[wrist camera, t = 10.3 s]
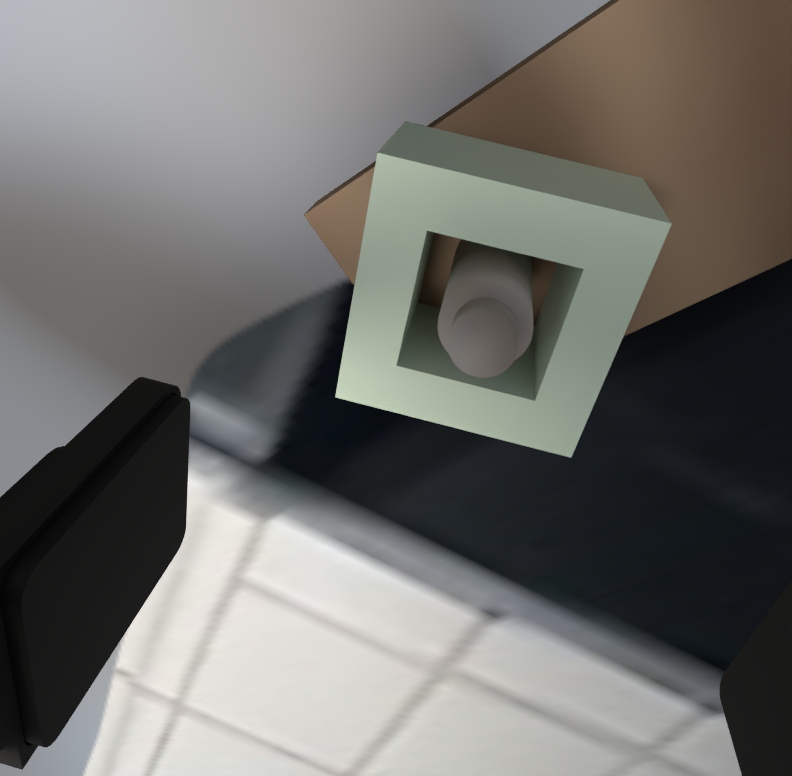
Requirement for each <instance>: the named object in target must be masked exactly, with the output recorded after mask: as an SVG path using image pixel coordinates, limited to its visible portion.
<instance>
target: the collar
mask: <svg viewBox="0 0 792 776" xmlns="http://www.w3.org/2000/svg"><path fill="white" fill-rule="evenodd" d="M671 225H672V223H671V221H670V220H669V218H668V217H667V215H666V214H665V212H664V211H663V209H662V207H661V206H660V204H659V203H658V201H657V200H656V198H655V196H654V195H653V193H652V192H651V190H650V189H649V187H648V185H647V184H646V182H645V181H644V179H643V178H641V177H636V176H632V175H628V174H624V173H620V172H615V171H611V170H607V169H603V168H599V167H594V166H590V165H586V164H582V163H578V162H574V161H569V160H565V159H561V158H557V157H553V156H548V155H544V154H540V153H536V152H532V151H527V150H523V149H519V148H515V147H511V146H507V145H502V144H498V143H494V142H490V141H486V140H481V139H477V138H473V137H469V136H465V135H460V134H456V133H452V132H448V131H444V130H440V129H435V128H431V127H427V126H423V125H418V124H414V123H410V122H405V123H404V124H403V125H402V126H401V127H400V128H399V129H398V130H397V131H396V133H395V134H394V135H393V136H392V137H391V138H390V139H389V140H388V141H387V142H386V144H385V145H384V146H383V147H382V148H381V149H380V150H379V151H378V153H377V158H376V163H375V169H374V175H373V181H372V187H371V192H370V198H369V204H368V210H367V216H366V222H365V227H364V233H363V239H362V245H361V251H360V257H359V262H358V268H357V274H356V280H355V286H354V292H353V297H352V303H351V309H350V315H349V321H348V327H347V332H346V338H345V344H344V350H343V356H342V362H341V367H340V373H339V379H338V385H337V391H336V396H335V397H336V398H340V399H344V400H348V401H352V402H356V403H360V404H364V405H368V406H371V407H375V408H379V409H383V410H387V411H391V412H395V413H399V414H403V415H407V416H410V417H414V418H418V419H422V420H426V421H430V422H434V423H438V424H442V425H446V426H449V427H453V428H457V429H461V430H465V431H469V432H473V433H477V434H481V435H485V436H488V437H492V438H496V439H500V440H504V441H508V442H512V443H516V444H520V445H524V446H527V447H531V448H535V449H539V450H543V451H547V452H551V453H555V454H559V455H563V456H566V457H570V458H571V457H572V455H573V452H574V450H575V448H576V445H577V443H578V441H579V438H580V436H581V434H582V431H583V429H584V427H585V424H586V422H587V420H588V417H589V415H590V413H591V410H592V408H593V406H594V404H595V401H596V399H597V397H598V394H599V392H600V390H601V387H602V385H603V383H604V380H605V378H606V376H607V373H608V371H609V369H610V366H611V364H612V362H613V359H614V357H615V355H616V352H617V350H618V348H619V345H620V343H621V341H622V338H623V336H624V334H625V332H626V329H627V327H628V325H629V322H630V320H631V318H632V315H633V313H634V311H635V308H636V306H637V304H638V301H639V299H640V297H641V294H642V292H643V290H644V287H645V285H646V283H647V280H648V278H649V276H650V273H651V271H652V269H653V266H654V264H655V262H656V259H657V257H658V255H659V253H660V250H661V248H662V246H663V243H664V241H665V239H666V236H667V234H668V232H669V229H670V227H671ZM434 232H435V233H439V234H443V235H447V236H451V237H455V238H459V239H463V240H467V241H471V242H476V243H480V244H484V245H488V246H492V247H496V248H500V249H504V250H508V251H512V252H516V253H520V254H525V255H529V256H533V257H537V258H541V259H545V260H549V261H553V262H557V264H556V266H555V269H554V272H553V275H552V278H551V281H550V284H549V287H548V290H547V293H546V295H545V298H544V301H543V304H542V307H541V310H540V313H539V316H538V319H537V322H536V325H535V327H534V330H533V335H532V339H531V342H530V344H529V346H528V348H527V349H526V351H525V352H524V353H523V354H522V355H521V356H520V357H519V358H518V359H517V360H515V361H514V362H513V364H512V365H511V366H510V367H509V368H508V369H507V370H506V371H504V372H503V373H501V374H499V375H496V376H493V377H488V378H480V377H474V376H471V375H468V374H466V373H464V372H463V371H461V370H460V369H459V368H458V367H457V366H456V365H455V364H454V363H453V361H452V359H451V357H450V355H449V354H448V353H447V351H446V350H445V349H444V347H443V345H442V343H441V341H440V338H439V335H438V317H439V313H440V309H441V308H437V307H433V306H429V305H425V304H421V303H418V299H419V295H420V291H421V287H422V282H423V278H424V274H425V269H426V265H427V261H428V256H429V252H430V248H431V243H432V239H433V235H434Z"/></svg>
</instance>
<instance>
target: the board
mask: <svg viewBox="0 0 792 776" xmlns="http://www.w3.org/2000/svg"><path fill="white" fill-rule="evenodd" d="M427 127H431V128H435V129H440V130H444V131H448V132H452V133H456V134H460V135H465V136H469V137H473V138H477V139H481V140H486V141H490V142H494V143H498V144H502V145H507V146H511V147H515V148H519V149H523V150H527V151H532V152H536V153H540V154H544V155H548V156H553V157H557V158H561V159H565V160H569V161H574V162H578V163H582V164H586V165H590V166H594V167H599V168H603V169H607V170H611V171H615V172H620V173H624V174H628V175H632V176H636V177H641V178H643V179H644V181H645V182H646V184H647V185H648V187H649V189H650V190H651V192H652V193H653V195H654V196H655V198H656V200H657V201H658V203H659V204H660V206H661V207H662V209H663V211H664V212H665V214H666V215H667V217H668V218H669V220H670V221H671V223H672V225H671V227H670V229H669V232H668V234H667V236H666V239H665V241H664V243H663V246H662V248H661V250H660V253H659V255H658V257H657V259H656V262H655V264H654V266H653V269H652V271H651V273H650V276H649V278H648V280H647V283H646V285H645V287H644V290H643V292H642V294H641V297H640V299H639V301H638V304H637V306H636V308H635V311H634V313H633V315H632V318H631V320H630V322H629V325H628V327H627V329H626V332H625V334H624V336H626V335H628V334H630V333H632V332H634V331H636V330H639V329H641V328H643V327H645V326H647V325H649V324H652V323H654V322H656V321H658V320H660V319H662V318H665V317H667V316H669V315H671V314H673V313H675V312H678V311H680V310H682V309H684V308H686V307H688V306H691V305H693V304H695V303H697V302H699V301H701V300H703V299H706V298H708V297H710V296H712V295H714V294H716V293H719V292H721V291H723V290H725V289H727V288H729V287H732V286H734V285H736V284H738V283H740V282H742V281H745V280H747V279H749V278H751V277H753V276H755V275H758V274H760V273H762V272H764V271H766V270H768V269H771V268H773V267H775V266H777V265H779V264H781V263H783V262H786V261H788V260H790V259H792V0H611V1H609V2H608V3H606V4H605V5H604V6H602V7H600V8H599V9H597V10H596V11H595V12H593V13H592V14H590V15H589V16H587V17H586V18H585V19H583V20H581V21H580V22H578V23H577V24H576V25H574V26H573V27H571V28H570V29H568V30H567V31H565V32H564V33H562V34H561V35H559V36H558V37H556V38H555V39H554V40H552V41H551V42H549V43H548V44H546V45H545V46H544V47H542V48H540V49H539V50H537V51H536V52H535V53H533V54H532V55H530V56H529V57H527V58H526V59H525V60H523V61H521V62H520V63H518V64H517V65H516V66H514V67H513V68H511V69H510V70H508V71H507V72H505V73H504V74H502V75H501V76H499V77H498V78H496V79H495V80H494V81H492V82H491V83H489V84H488V85H486V86H485V87H483V88H482V89H481V90H479V91H477V92H476V93H475V94H473V95H472V96H470V97H469V98H467V99H466V100H464V101H463V102H461V103H460V104H459V105H457V106H456V107H454V108H453V109H451V110H450V111H448V112H447V113H445V114H444V115H443V116H441V117H439V118H438V119H437V120H435V121H434V122H432V123H431V124H430V125H428V126H427ZM375 163H376V161H375V162H374V163H372V164H371V165H369V166H368V167H366V168H365V169H363V170H362V171H361V172H359V173H358V174H356V175H355V176H353V177H352V178H350V179H349V180H347V181H346V182H344V183H343V184H342V185H340V186H339V187H337V188H336V189H334V190H333V191H331V192H330V193H328V194H327V195H325V196H324V197H323V198H321V199H320V200H318V201H317V202H316V203H315V204H314V205H313V206H312V207H311V208H310V209H309V210H308V211H307V212H306V213H305V214H304V216H305V217H306V219H307V220H308V221H309V223H310V224H311V226H312V227H313V229H314V230H315V231H316V232H317V234H318V236H319V237H320V238H321V240H322V241H323V243H324V244H325V245H326V247H327V248H328V250H329V251H330V252H331V254H332V255H333V257H334V258H335V259H336V261H337V262H338V264H339V265H340V267H341V268H342V269H343V271H344V272H345V274H346V275H347V276H348V278H349V279H350V281H351V282H352V283H353V285H354V286H355V280H356V274H357V268H358V262H359V257H360V251H361V245H362V239H363V233H364V227H365V222H366V216H367V210H368V204H369V198H370V192H371V187H372V181H373V175H374V169H375ZM556 264H557V262H553V261H549V260H545V259H541V258H537V257H533V256H529V255H525V254H520V253H516V252H512V251H508V250H504V249H500V248H496V247H492V246H488V245H484V244H480V243H476V242H471V241H467V240H463V239H459V238H455V237H451V236H447V235H443V234H439V233H435V232H434V235H433V239H432V243H431V248H430V252H429V256H428V261H427V265H426V269H425V274H424V278H423V282H422V287H421V291H420V295H419V299H418V303H421V304H425V305H429V306H433V307H437V308H441V309H440V313H439V317H438V335H439V338H440V341H441V343H442V345H443V347H444V349H445V350H446V351H447V353H448V354H449V355H450V357H451V359H452V361H453V363H454V364H455V365H456V366H457V367H458V368H459V369H460V370H461V371H463V372H464V373H466V374H468V375H471V376H474V377H480V378H488V377H493V376H496V375H499V374H501V373H503V372H504V371H506V370H507V369H508V368H509V367H510V366H511V365H512V364H513V362H514V361H515V360H517V359H518V358H519V357H520V356H521V355H522V354H523V353H524V352H525V351H526V349H527V348H528V346H529V344H530V342H531V339H532V335H533V330H534V327H535V325H536V322H537V319H538V316H539V313H540V310H541V307H542V304H543V301H544V298H545V295H546V293H547V290H548V287H549V284H550V281H551V278H552V275H553V272H554V269H555V266H556Z"/></svg>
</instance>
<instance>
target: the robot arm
mask: <svg viewBox="0 0 792 776" xmlns="http://www.w3.org/2000/svg"><path fill="white" fill-rule="evenodd" d="M189 428H190V402H189V400H188V399H187V398H183V397H181V392H180V390H179V388H178V387H177V386H174V385H171V384H167V383H163V382H160V381H155V380H152V379H148V378H144V377H140V378H138V379H136V380H135V381H134V382H132V383H131V384H130V385H129V386H128V387H127V388H126V389H125V390H124V391H123V392H122V393H121V394H120V395H119V396H118V397H117V398H116V399H114V401H112V402H111V403H110V404H109V405H108V406H107V407H106V408H105V409H104V410H103V411H102V412H101V413H100V414H99V415H98V416H96V417H95V418H94V419H93V420H92V421H91V422H90V423H89V424H88V425H87V426H86V427H85V428H84V429H83V430H82V431H81V432H79V433H78V434H77V435H76V436H75V437H74V438H73V439H72V440H71V441H70V442H69V443H68V444H67V445H66V446H62V447H58V448H55V449H54V450H53V451H51V452H50V453H48V454H47V455H46V456H45V457H44V458H43V459H41V460H40V461H39V462H38V463H37V464H36V465H35V466H34V467H33V468H32V469H31V470H30V471H29V472H27V473H26V474H25V475H24V476H23V477H22V478H21V479H20V480H19V481H18V482H17V483H16V484H14V485H13V486H12V487H11V488H10V489H9V490H8V491H7V492H6V493H5V494H4V495H2V496H1V497H0V763H2V764H5V765H9V766H12V767H15V768H19V769H23V768H24V766H25V765H26V763H27V762H28V760H29V759H30V757H31V756H32V754H33V753H34V751H35V750H36V748H37V747H38V745H39V746H42V747H48V746H50V745H51V744H52V743H53V742H54V741H55V740H56V739H57V737H58V736H59V734H60V733H61V731H62V730H63V728H64V727H65V725H66V724H67V722H68V721H69V719H70V717H71V716H72V714H73V713H74V711H75V710H76V708H77V706H78V705H79V703H80V702H81V700H82V699H83V697H84V696H85V694H86V692H87V691H88V689H89V688H90V686H91V685H92V683H93V682H94V680H95V679H96V677H97V676H98V674H99V672H100V671H101V669H102V668H103V666H104V665H105V663H106V661H107V660H108V659H109V657H110V655H111V654H112V652H113V651H114V649H115V648H116V646H117V645H118V643H119V641H120V640H121V638H122V637H123V635H124V634H125V632H126V631H127V629H128V628H129V626H130V624H131V623H132V621H133V620H134V618H135V617H136V615H137V614H138V612H139V610H140V609H141V607H142V606H143V604H144V603H145V601H146V600H147V598H148V596H149V595H150V593H151V592H152V590H153V589H154V587H155V586H156V584H157V583H158V581H159V579H160V578H161V576H162V575H163V573H164V572H165V570H166V569H167V567H168V565H169V564H170V562H171V561H172V559H173V558H174V556H175V555H176V553H177V551H178V550H179V548H180V546H181V543H182V541H183V538H184V534H185V530H186V510H187V483H188V455H189ZM720 699H721V703H722V706H723V710H724V713H725V717H726V721H727V724H728V728H729V731H730V735H731V738H732V742H733V745H734V749H735V752H736V756H737V759H738V763H739V766H740V770H741V773H742V776H792V580H791V581H790V583H789V584H788V586H787V587H786V588H785V590H784V591H783V592H782V594H781V595H780V597H779V598H778V599H777V601H776V602H775V603H774V605H773V606H772V608H771V609H770V610H769V612H768V613H767V615H766V616H765V617H764V619H763V620H762V621H761V623H760V624H759V626H758V627H757V628H756V630H755V631H754V632H753V634H752V635H751V637H750V638H749V639H748V641H747V642H746V644H745V645H744V646H743V648H742V649H741V650H740V652H739V653H738V655H737V656H736V657H735V659H734V660H733V661H732V663H731V664H730V666H729V667H728V668H727V670H726V671H725V672H724V674H723V676H722V679H721V682H720Z"/></svg>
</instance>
